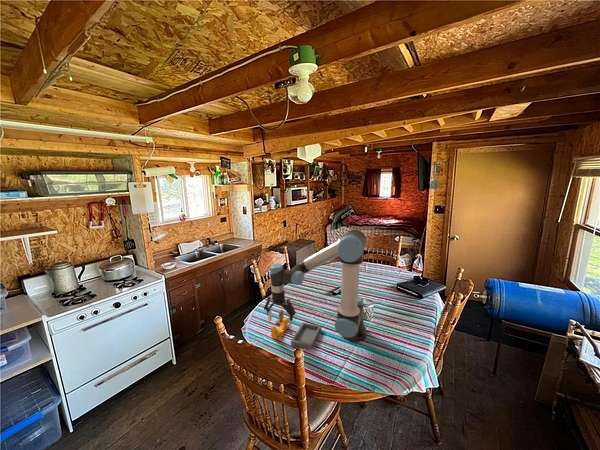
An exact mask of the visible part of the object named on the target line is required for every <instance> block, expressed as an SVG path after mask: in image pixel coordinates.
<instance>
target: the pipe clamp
mask: <svg viewBox="0 0 600 450" xmlns="http://www.w3.org/2000/svg"><path fill="white" fill-rule="evenodd" d="M287 319H288V318H286V317H284V318H283V319H282V323H281V325H279V327H278V328H277V327H276V326H274V325H272V326H271V327H270V333H271V338H273V339H275V340H279V339H280V338H281V337H282V336H283V335H285V331H286V330H288V328H289V321H287Z"/></svg>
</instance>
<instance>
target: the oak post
mask: <svg viewBox="0 0 600 450" xmlns="http://www.w3.org/2000/svg"><path fill="white" fill-rule="evenodd" d="M278 317H279V318H278V319H277V320H276V321H275V325H279V326H281V323H282V319H283V318H285V317H284V310H283V309H280V310H278ZM286 319H287V322H289V318H286Z"/></svg>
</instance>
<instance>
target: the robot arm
mask: <svg viewBox="0 0 600 450" xmlns="http://www.w3.org/2000/svg"><path fill="white" fill-rule="evenodd" d="M366 245H367V236H366V235H365V233H364V232H363V231H361V230H359V229H351V230H348V231H347V232H346V233H344V234H343V235H342V236H340V237H339V238H338V240H336V241H334V242H333V243H331V244H330V245H327V246H325V247H324V248H322V249H321V250H318V251H317V252H316V253H314V254H311V255H310V256H308V257H306V258H305V259H302V260H300V261H298V262H297V263H296V264H295V265H294V266H293V267H292V268H291V269H285V268H284V266H283V265H282V264H280V263H274V264H272V265H271V266H270V267H269V272H270V273H269V274H270V275H269V276H270V277H269V278H270V287H271V294H269V296H267V298H266V299H267V301H266V303H265V305H264V307H263V311H266V315H267V316H268V317H267V318H268V322H271V321H272V319H273V316H272V315H273V314H272V313H273V312H272V309H271V308H272V307H273V306H274V305H276V306H280V307H281V308H283V309H284V310H285V312H286V313H287V314H288V318H287V319H288V327H291V326H292V324H293V320H294V316H295V315H296V313H297V312H296V310H295V308H294V306H293V304H292V302H291V299H290V298H287V299H286V298H285V297H286V295H285V294H286V292H285V284H289V285H293V286H297V285H298V286H300V285H302V284H303V282H304V281H305V275H306V274H307V273H310V272H311V271H313V270H314V269H317V268H318V267H320V266H322V265H324V264H326V263H328V262H330V261H331V260H334V259H336V258H337V257H338V261H339V263H340V264H341V277H340V278H341V280H340V285H341V286H340V303H339V305H338V306H337V311H336V320H335V321H334V328H335V331H336V332H337V333H338V334H339V335H340V336H341V337H342V338H343V339H344V340H346V341H349V342H354V343H358V342H362V341H364V340H365V339H366V338H367V335H368V332H367V331H368V330H367V328H366V325H365V323H364V299H363V298H362V297H360V296H358V295H359V282H360V265H362V264H363V262H364V251H365V247H366ZM271 300H272V303H271V304H270V302H271ZM269 304H270V306H269Z"/></svg>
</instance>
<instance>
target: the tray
mask: <svg viewBox="0 0 600 450" xmlns="http://www.w3.org/2000/svg"><path fill="white" fill-rule="evenodd" d="M321 332H322V325H318V324H313V323H308V322H303V321H302V323H301V324H300V326H299V328H298V329H297V330H296V332H295V333H294V335H293V336H292V338H291V340H290V344H291V345H290V346H292V347H296V348H300V349H304V348H306V349H305V350H309V351H312V350H313V348H314V346H315V343H316V341H317V340H318V338H319V336H320V333H321Z"/></svg>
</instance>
